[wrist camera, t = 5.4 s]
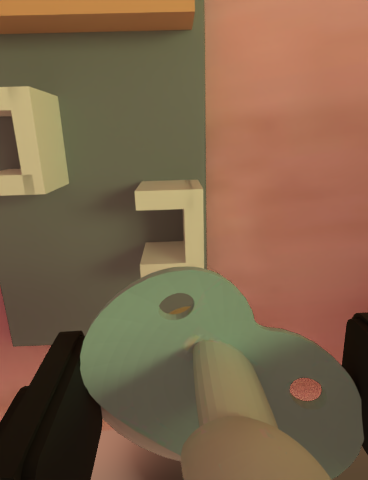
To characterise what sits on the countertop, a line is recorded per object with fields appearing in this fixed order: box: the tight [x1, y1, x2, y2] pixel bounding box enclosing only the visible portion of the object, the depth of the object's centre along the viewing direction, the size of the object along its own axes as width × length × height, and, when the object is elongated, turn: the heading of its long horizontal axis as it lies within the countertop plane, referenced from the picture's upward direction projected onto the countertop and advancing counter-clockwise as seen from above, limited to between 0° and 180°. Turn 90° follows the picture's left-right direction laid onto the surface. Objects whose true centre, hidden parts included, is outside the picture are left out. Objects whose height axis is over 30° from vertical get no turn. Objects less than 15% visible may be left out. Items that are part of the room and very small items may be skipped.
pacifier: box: [80, 266, 364, 480], centre depth 7 cm, size 7×6×6 cm
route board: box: [0, 0, 207, 346], centre depth 18 cm, size 14×33×5 cm, turn 2°
